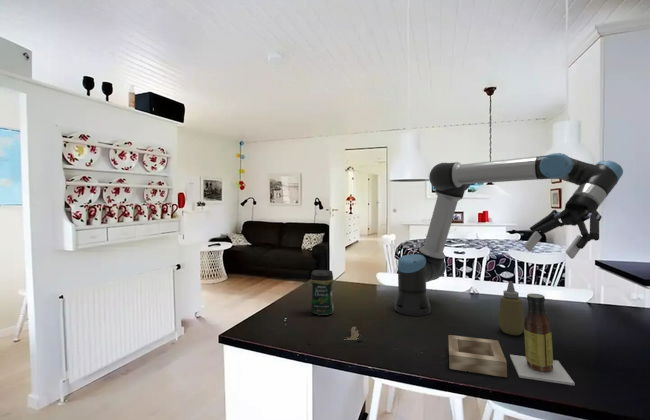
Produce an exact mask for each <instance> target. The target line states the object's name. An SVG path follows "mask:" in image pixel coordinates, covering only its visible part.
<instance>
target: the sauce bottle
mask: <svg viewBox="0 0 650 420" xmlns="http://www.w3.org/2000/svg"><path fill="white" fill-rule="evenodd" d="M526 300H527V306H528V308H527V313H526V316H525V317H524V328H523V333H524V346H525V348H524V349H525V350H524V351H525V357H526V360H527V364H528V366H529V367H531V368H533V369H534V370H537V371H543V372H549V371H552V369H553V360H554V355H553V354H554V353H553V352H554V351H553V336H552V329H551V327H552V325H551V324H552V323H551V322H550V319H549V317H548V315H547V314H546V310H545V301H546V297H545V295H543V294H540V293H527V294H526Z"/></svg>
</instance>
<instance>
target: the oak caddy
mask: <svg viewBox="0 0 650 420" xmlns="http://www.w3.org/2000/svg"><path fill="white" fill-rule="evenodd" d="M448 361H449V362H448V363H449V364H448V365H449V369H450V370H454V371H461V372H467V371H468V372H469V373H475V374H481V375H487V376H488V375H489V376H494V377H501V378H508V368H507V367H508V364H507V363H508V362H507V359H506V357H505V355H504V352H503V349H502V347H501V345H500V342H499V339H498V340H496V339H486V338H479V337H478V338H477V337H470V336H463V335H455V334H454V335H453V334H452V335H451V334H448Z"/></svg>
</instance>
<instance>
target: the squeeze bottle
mask: <svg viewBox="0 0 650 420" xmlns="http://www.w3.org/2000/svg"><path fill="white" fill-rule="evenodd" d="M502 293H503V296H500V301H499V302H500V303H499V312H498V324H499V326H500V329H501V331H502V333H504V334H507V335H511V336H520V335H522V333H523V331H524V322H525V316H524V309H523V300H522V299H521V298H520V297H519V292H518V291H516V289H515V286H514V281H511V280H510V281H508V284H507V288H506V290H503V292H502Z"/></svg>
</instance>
